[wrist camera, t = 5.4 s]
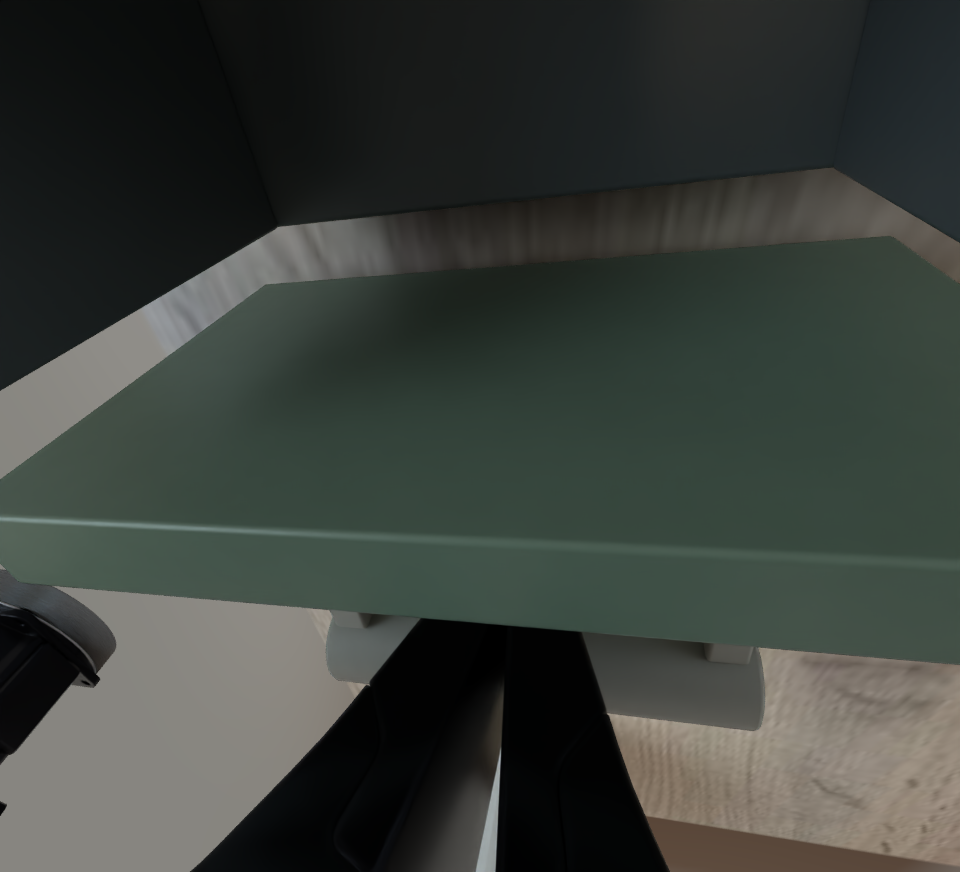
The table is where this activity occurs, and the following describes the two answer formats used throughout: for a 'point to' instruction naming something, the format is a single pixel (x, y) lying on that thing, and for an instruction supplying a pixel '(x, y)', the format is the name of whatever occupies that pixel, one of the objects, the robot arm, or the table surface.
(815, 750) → the table surface
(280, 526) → the drawer
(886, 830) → the table surface
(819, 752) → the table surface
